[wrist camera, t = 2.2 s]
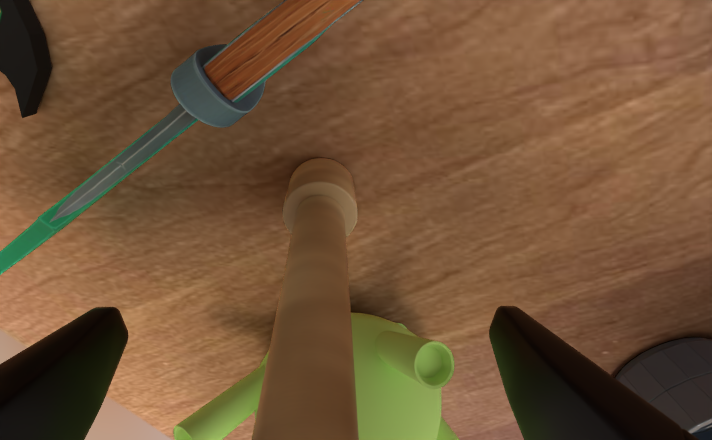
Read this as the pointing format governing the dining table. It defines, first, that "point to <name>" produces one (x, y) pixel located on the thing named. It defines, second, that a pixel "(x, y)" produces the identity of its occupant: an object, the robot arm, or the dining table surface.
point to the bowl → (676, 382)
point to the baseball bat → (313, 314)
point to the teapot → (358, 388)
